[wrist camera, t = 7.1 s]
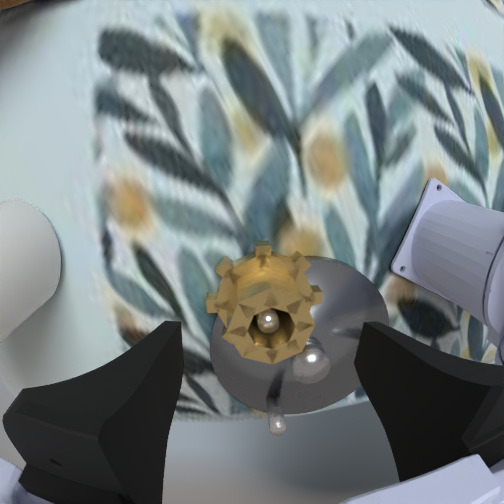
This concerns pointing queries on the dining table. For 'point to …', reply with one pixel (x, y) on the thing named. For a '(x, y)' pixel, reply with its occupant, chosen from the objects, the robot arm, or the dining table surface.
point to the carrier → (305, 348)
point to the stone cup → (11, 3)
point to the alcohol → (25, 263)
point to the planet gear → (265, 302)
